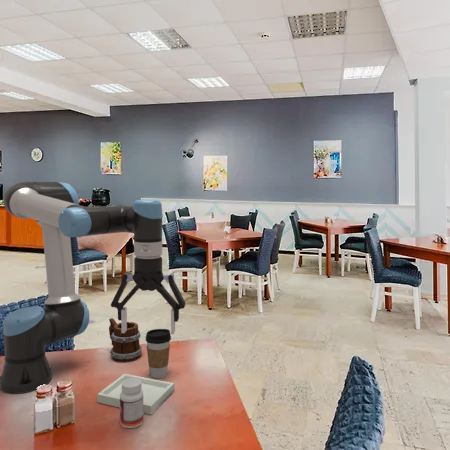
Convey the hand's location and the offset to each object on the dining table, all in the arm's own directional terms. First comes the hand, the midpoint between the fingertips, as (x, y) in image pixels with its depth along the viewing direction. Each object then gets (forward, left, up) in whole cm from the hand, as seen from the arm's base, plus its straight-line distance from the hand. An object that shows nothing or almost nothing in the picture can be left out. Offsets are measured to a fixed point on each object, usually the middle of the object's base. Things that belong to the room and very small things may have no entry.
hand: (148, 332), depth 111 cm
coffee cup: (-9, +21, -23) cm, 32 cm away
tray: (-8, +6, -23) cm, 25 cm away
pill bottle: (-2, -6, -23) cm, 24 cm away
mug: (-29, +30, -23) cm, 47 cm away
